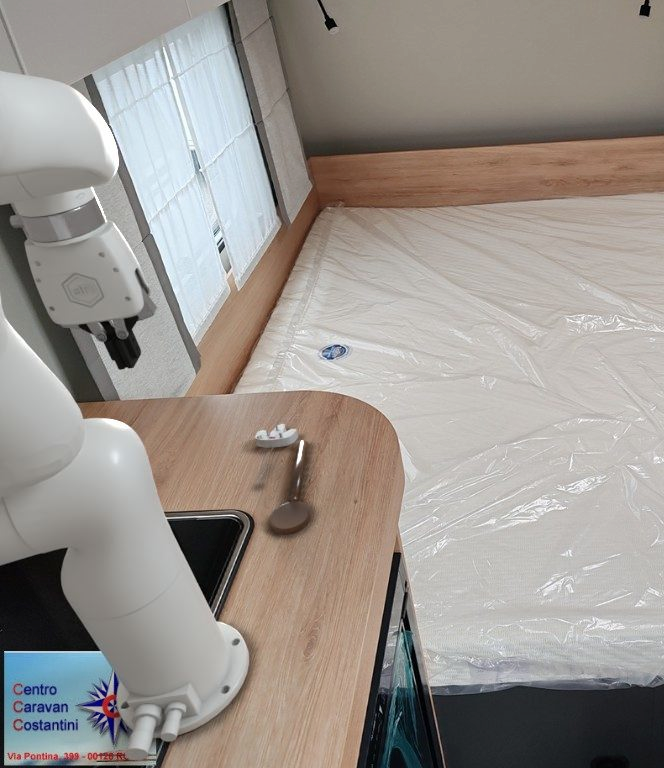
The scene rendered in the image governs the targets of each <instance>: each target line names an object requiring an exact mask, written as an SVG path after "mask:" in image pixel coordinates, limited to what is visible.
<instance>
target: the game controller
mask: <svg viewBox="0 0 664 768" xmlns="http://www.w3.org/2000/svg"><path fill="white" fill-rule="evenodd" d="M254 437H255V442H256V446H257V447H259V448H271V450H270V451H269V452H268V453H267V455H266V458H265V468H264V470H263V473H261V474H260V476H259V478H258V482H257V486H258V487H259V488H260V487H261V486H260V480H261V478H262V475H264V474H265V472H266V470H267V466H268V458H269V454H270V453H271V452H272V451H273V449H274V448H281V447H286V446H290V445H293V443H295V442H296V440H298V438H299V435H298V430H297V428H290V429H288V430H287V428H286V424H285V423H280V424H278V425H275V427H274V428H273V429H272V430H271V432H270V431H269V430H265V429H261V430H260V429H259V430H258V431H257V432H256V434H255V436H254Z"/></svg>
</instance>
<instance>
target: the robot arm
mask: <svg viewBox="0 0 664 768" xmlns="http://www.w3.org/2000/svg"><path fill="white" fill-rule="evenodd" d="M118 168H119V154H118V148H117V144H116V141H115V139H114V136H113V134H112V131H111V129H110V128H109V126H108V124H107V122H106V121H105V119H104V118H103V117H102V115H101V114H100V112H99V111H98V110H97V109H96V108H95V107H94V105H92V104H91V102H90V101H89V100H88V99H87V97H85V96H84V95H83V94H82V93H80V91H78V90H77V89H75V88H74V87H72V86H71V85H68V84H66V83H64V82H61V81H58V80H54V79H51V78H46V77H41V76H35V75H28V74H22V73H15V72H9V71H4V70H0V206H3V205H9V204H13V205H14V207H15V209H16V211H17V212H16V214H15V215H14V214H13V215H11V216H10V217H9V222H10V225H11V227H12V228H14V229H19V228H21V229H24V231H25V233H26V236H27V237H28V238H27V239H26V240H25V241H24V243H23V244H24V248H25V253H26V258H27V261H28V262H27V263H28V264H29V269H30V272H31V274H32V278H33V281H34V283H35V287H36V289H37V291H38V294H39V296H40V299H41V301H42V303H43V306H44V307H45V310H46V312H47V314H48V316H49V317H50V319H51V320H52V321H53V322H54V323H55V324H57V325H60V327H61V328H64V329H74V330H75V329H76V330H79V329H81V330H82V331H84V332H86V333H88V334H90V335H93V337H94V338H95V339H96V340H97V341H98V342H100V343H103V345H104V347H105V349H106V351H107V353H108V355H109V357H110V359H111V361H113V362H115V365H116V367H117V369H118V370H119V371H121V370H125V369H126V368H127V369H134V368H135V366H136V365H137V362H138V361H139V359H140V357H141V355H142V349H141V346H140V345H139V342H138V340H137V337H136V335H135V332H134V330H133V329H134V327H135V326H136V324H137V323H138V322H140V321H143V320H147V319H149V318H151V317H154V315H155V314H156V312H157V310H158V307H157V305H156V304H155V302H154V301H153V300H152V299H151V297H150V296H151V290H150V286H149V284H148V281H147V278H146V276H145V274H144V272H143V270H142V267H141V266H140V263H139V261H138V259H137V258H136V256H135V254H134V252H133V249H132V248H131V246H130V245H129V243H128V242H127V241H126V239H125V237H124V235H123V234H122V232H121V231H120V230H119V228H118V227H117V226H116V224H115V223H114V221H113V220H107V218H106V215H105V214H104V211H103V208H102V206H101V204H100V201H99V199H98V197H97V195H96V193H95V190H94V187H99V186H103V185H105V184H107V183H109V182H110V181H111V180H112V179H113V178H114V177H115V176H116V173H117V171H118ZM1 295H2V294H1V293H0V566H3V565H6V564H10V563H13V562H16V561H20V560H23V559H26V558H29V557H33V556H36V555H40V554H47V553H50V552H53V551H57V550H60V549H66V548H67V550H66V553H65V556H64V558H63V561H62V565H61V571H60V583H61V588H62V592H63V595H64V596H65V599H66V600H67V602H68V603H69V605H70V607H71V608H72V609H73V611H74V612H75V614H76V616H77V617H78V618H79V620H80V621H81V623H82V624H83V625H82V626H84V628H85V629H86V631H87V632H88V634H89V635H90V637H91V638H92V640H93V641H94V643H95V645H96V646H97V648H98V649H99V651H100V652H101V654H102V655H103V657H104V658H105V660H106V662H107V663H108V665H109V666H110V667H111V669H112V670H113V672H114V673H115V676H116V677H117V678H118V680H119V683H118V686H117V690H116V697H115V701H116V709H117V711H118V714H119V716H120V718H121V720H122V721H123V722H124V724H125V725H126V727H128V728H129V729H130V730H131V731H132V733H130V736H129V740H128V743H127V746H126V749H125V752H124V756H125V757H126V758H127V759H129V760H131V761H143V760H144V759H147V758H148V756H149V753H150V751H151V747H152V743H153V739H161V740H162V741H163V742H174V741H176V739H177V737H178V736H180V735H183V734H186V733H189V732H192V731H194V730H196V729H198V728H199V727H201V726H203V725H205V724H206V723H208V722H209V721H211V720H212V719H213V718H215V717H216V716H218V715H220V714H221V712H222V711H223V710H224V709H226V708H227V707H228V706H229V704H230V703H231V702H232V701H233V699H235V697H236V696H237V694H238V693H239V691H240V689H241V688H242V687H243V685H244V683H245V680H246V677H247V675H248V672H249V666H250V652H249V649H248V645H247V643H246V641H245V640H244V637H243V635H241V633H240V632H239V631H238V630H237V629H236V628H235V627H233V626H231V625H230V624H227V623H224V622H221V621H217V620H216V618H215V616H214V614H213V612H212V610H211V607H210V606H209V603H208V602H207V600H206V597H205V595H204V594H203V591H202V590H201V587H200V586H199V583H198V582H197V579H196V577H195V575H194V573H193V571H192V569H191V567H190V565H189V563H188V561H187V559H186V556H185V555H184V553H183V551H182V549H181V547H180V545H179V543H178V541H177V539H176V537H175V535H174V532H173V530H172V528H171V525H170V523H169V521H168V519H167V517H166V515H165V514H166V513H165V511H164V509H163V506H162V504H161V500H160V497H159V494H158V490H157V486H156V483H155V478H154V475H153V471H152V467H151V463H150V459H149V456H148V454H147V450H146V447H145V445H144V443H143V441H142V439H141V438H140V436H139V435H138V433H137V432H136V431H135V430H134V429H133V428H132V427H131V426H129V425H128V424H126V423H124V422H122V421H119V420H117V419H113V418H112V419H111V418H105V417H90V418H89V417H88V418H84V417H83V414H82V411H81V409H80V407H79V405H78V403H77V402H76V400H75V399H74V397H73V395H72V394H71V392H70V391H69V390H68V388H67V387H66V386H65V385H64V384H63V382H62V381H61V380H60V379H59V378H58V377H57V375H55V373H54V372H53V371H52V370H51V369H50V368H49V367H48V366H47V364H46V363H45V362H44V361H43V360H42V359H41V358H40V357H39V356H38V354H36V352H35V351H34V350H33V349H32V348H31V347H30V346H29V345H28V343H27V342H26V341H25V340H24V339H23V337H21V335H19V333H18V332H17V330H15V329H14V327H13V326H12V325H11V324H10V322H9V321H8V319H7V317H6V315H5V313H4V312H5V311H4V309H3V304H2V296H1Z"/></svg>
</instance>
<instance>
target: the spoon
mask: <svg viewBox="0 0 664 768" xmlns="http://www.w3.org/2000/svg"><path fill="white" fill-rule="evenodd" d="M308 451H309V442H308V441H307V440H305V439H304V440H300V441H299V442H298V444H297V447H296V453H295V459H294V464H293V469H292V474H291V480H290V484H289V485H290V486H289V491H288V495H287V502H285V503H283V504H281V505H280V506H278V507H277V508H276V509H274V511H273V512H272V513H271V515H270V525H271V528H272V529H273V530H274V532H276V533H277V534H281V535H291V534H295V533H298V532H300V531H302V530H303V529H305V528H306V527H307V526H308V525H309V523H310V522H311V518H312V513H311V510H310V507H309V505H308V504H306V503H305V502H303V501H300V497H301V492H302V485H303V480H304V474H305V468H306V462H307V457H308Z"/></svg>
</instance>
